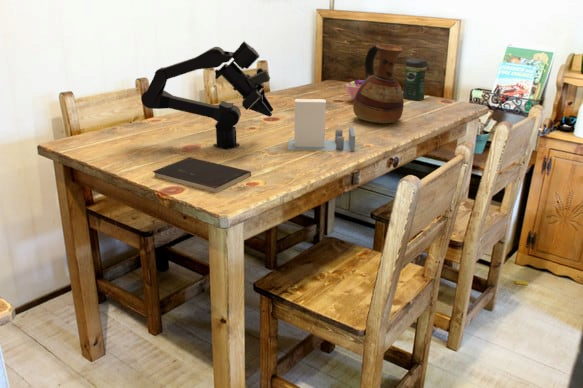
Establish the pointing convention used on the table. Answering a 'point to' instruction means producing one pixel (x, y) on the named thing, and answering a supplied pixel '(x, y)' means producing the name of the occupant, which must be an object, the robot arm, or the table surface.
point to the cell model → (353, 87)
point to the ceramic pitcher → (380, 88)
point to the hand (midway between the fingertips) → (271, 113)
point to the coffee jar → (414, 79)
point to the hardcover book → (202, 174)
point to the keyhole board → (331, 143)
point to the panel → (309, 122)
